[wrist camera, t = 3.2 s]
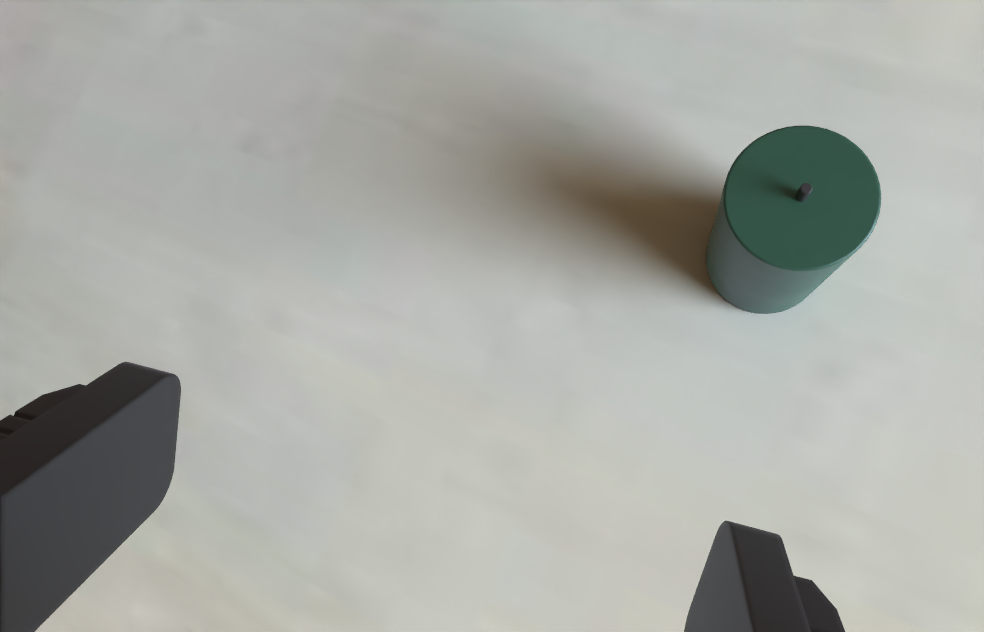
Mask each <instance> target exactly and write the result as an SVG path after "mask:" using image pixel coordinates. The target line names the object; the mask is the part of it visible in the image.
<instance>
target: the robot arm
mask: <svg viewBox="0 0 984 632" xmlns="http://www.w3.org/2000/svg"><path fill="white" fill-rule="evenodd" d="M180 395H181V386H180V381H179V378H178V377H177V376H176V375H175V374H172V373H168V372H164V371H160V370H156V369H153V368H149V367H145V366H141V365H137V364H134V363H130V362H123V363H121V364H119V365H117V366H116V367H114V368H113V369H111V370H109V371H108V372H106V373H105V374H103V375H102V376H100V377H99V378H97V379H95V380H94V381H92V382H91V383H89V384H88V385H86V386H85V385H81V384H78V385H75V386H72V387H68V388H65V389H61V390H58V391H54V392H51V393H48V394H44V395H42V396H40V397H38V398H37V399H35V400H34V401H32V402H30V403H29V404H27V405H25V406H24V407H22V408H20V409H19V410H17V411H16V412H15V414H14V416H12V415H9V416H7V417H6V418H4V419H2V420H1V421H0V632H34V631H35V630H36V629H37V628H38V627H39V626H40V625H41V624H42V623H43V622H44V621H45V620H46V619H47V618H48V617H49V616H50V615H51V614H52V613H53V612H54V611H55V610H56V609H57V608H58V607H59V606H60V605H61V604H62V603H63V602H64V601H65V600H66V599H67V598H68V597H69V596H70V595H71V594H72V593H73V592H74V591H75V590H76V589H77V588H78V587H79V586H80V585H81V584H82V583H83V582H84V581H85V580H86V579H87V578H88V577H89V576H90V575H91V574H92V573H93V572H94V571H95V570H96V569H97V568H98V567H99V566H100V565H101V564H102V563H103V562H104V561H105V560H106V559H107V558H108V557H109V556H110V555H111V554H112V553H113V552H114V551H115V550H116V549H117V548H118V547H119V546H120V545H121V544H122V543H123V542H124V541H125V540H126V539H127V538H128V537H129V536H130V535H131V534H132V533H133V532H134V531H135V530H136V529H137V528H138V527H139V526H140V525H141V524H142V523H143V522H144V521H145V520H146V519H147V518H148V517H149V516H150V515H151V514H152V513H153V512H154V511H155V510H156V509H157V508H158V506H159V505H160V503H161V502H162V500H163V499H164V497H165V495H166V493H167V490H168V488H169V485H170V483H171V479H172V476H173V471H174V463H175V451H176V440H177V429H178V418H179V406H180ZM684 632H845V630H844V628H843V625H842V622H841V620H840V617H839V614H838V612H837V609H836V608H835V607H834V606H833V605H832V603H831V602H830V601H829V600H828V599H827V598H826V596H825V595H824V594H823V593H822V592H821V591H820V589H819V588H818V587H817V586H816V585H815V583H814V582H813V581H812V580H808V579H804V578H800V577H797V576H793V573H792V570H791V566H790V563H789V560H788V557H787V554H786V551H785V548H784V544H783V541H782V539H781V537H780V536H779V535H778V534H775V533H771V532H767V531H763V530H760V529H756V528H752V527H748V526H744V525H741V524H737V523H733V522H729V521H724V522H723V523H722V524H721V526H720V527H719V529H718V531H717V534H716V536H715V539H714V542H713V544H712V547H711V550H710V553H709V556H708V559H707V561H706V564H705V567H704V570H703V573H702V575H701V578H700V581H699V584H698V587H697V589H696V592H695V595H694V598H693V601H692V604H691V606H690V609H689V612H688V616H687V620H686V625H685V630H684Z"/></svg>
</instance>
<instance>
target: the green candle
mask: <svg viewBox="0 0 984 632" xmlns="http://www.w3.org/2000/svg"><path fill="white" fill-rule="evenodd" d="M880 206H881V190H880V184H879V180H878V177H877V174H876V172H875V169H874V167H873V165H872V164H871V162H870V160H869V159H868V157H867V156H866V155H865V154H864V153H863V151H862V150H861V149H860V148H859V147H857V146H856V145H855V144H854V143H853V142H851V141H850V140H849V139H847V138H846V137H844V136H842V135H840V134H838V133H836V132H833V131H830V130H828V129H824V128H820V127H814V126H792V127H785V128H781V129H777V130H774V131H772V132H769V133H767V134H765V135H763V136H761V137H759V138H758V139H756V140H755V141H753V142H752V143H751V144H749V145H748V146H747V147H746V148H745V149H744V150H743V151H742V152H741V153H740V155H739V156H738V157H737V158H736V160H735V161H734V163H733V164H732V166H731V168H730V170H729V172H728V175H727V178H726V181H725V185H724V188H723V192H722V196H721V199H720V203H719V206H718V210H717V214H716V217H715V221H714V225H713V228H712V232H711V236H710V239H709V243H708V247H707V253H706V264H707V270H708V274H709V277H710V279H711V282H712V283H713V285H714V287H715V288H716V290H717V291H718V292H719V294H720V295H721V296H722V297H723V298H724V299H726V300H727V301H728V302H729V303H731V304H732V305H734V306H736V307H738V308H740V309H742V310H745V311H749V312H753V313H761V314H768V313H776V312H781V311H784V310H787V309H789V308H791V307H793V306H795V305H797V304H798V303H800V302H801V301H802V300H804V299H805V298H806V297H807V296H808V295H809V294H810V293H811V292H812V291H814V290H815V289H816V288H817V287H818V286H819V285H820V284H821V283H822V282H823V281H824V280H825V279H827V278H828V277H829V276H830V275H831V274H832V273H833V272H834V271H835V270H836V269H837V268H839V267H840V266H841V265H842V264H843V263H844V262H845V261H846V260H847V259H848V258H849V257H851V256H852V255H853V254H854V253H855V252H856V251H857V250H858V249H859V248H860V247H861V246H862V245H863V244H864V243H865V241H866V240H867V239H868V237H869V236H870V234H871V233H872V231H873V229H874V227H875V225H876V223H877V219H878V216H879V213H880Z"/></svg>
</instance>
